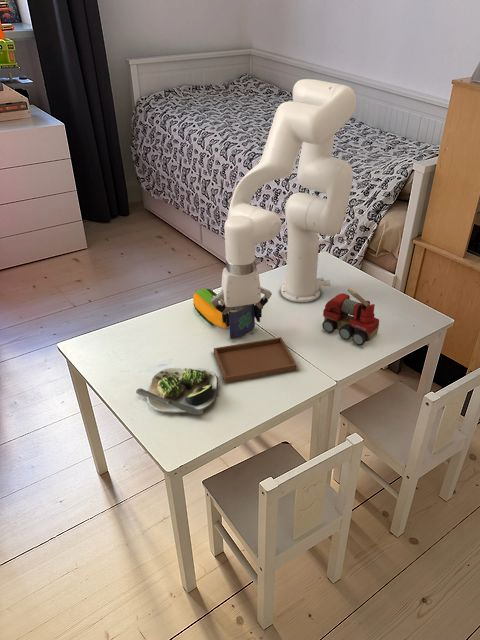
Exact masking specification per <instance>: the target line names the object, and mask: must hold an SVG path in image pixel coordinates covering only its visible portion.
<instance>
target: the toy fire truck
mask: <svg viewBox="0 0 480 640" xmlns="http://www.w3.org/2000/svg"><path fill="white" fill-rule="evenodd" d="M346 291H347V292H348V294H347V293H337V294H336V295H335V296H333V297H332V298H331V299H330V300H328V301H327V302H326V303H325V306H324V309H323V311H322V317H324V319H323V322H322V325H321V326H322V329H323V330H324V331H325V333H328V334H332V333H334V332H335V331H336V330H337V331H338V334H339V335H338V336H339V337H340V338H341V339H342V340H345V341H348V340H352V343H353V344H355V345H356V346H359V347H361V346H364V345H365V344H366V343H368V342H371V341H372V340H373V339H374V338H375V337H376V336H377V335H378V332H379V326H380V319H379V318H378V317H375V303H371V301H370V300H366V299H365V298H363V297H362V296H361V295H360V294H359V293H358V292H356V291H355V290H354V289H353V288H351V287H348V288H347V289H346ZM350 295H351V296H352V297H354V298H355V299H356V300H352V299H351V296H350Z"/></svg>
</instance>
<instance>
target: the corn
mask: <svg viewBox="0 0 480 640" xmlns="http://www.w3.org/2000/svg"><path fill="white" fill-rule="evenodd" d="M217 294H218V293H216V292H215V291H213V290H212V289H210V288H200V289H197V290H195V293H194V294H193V296H192V302H193V307H194V310H196V312H197V314H199V315H200V317H201V318H202V319H204V321H206V322H207V324H209V325H211V326H213V325H215V326H216V327H220V328H223V329H224V330H225V329H228V328H229V327H227V326H226V324H225V323H223V321H222V313H221V312H220V311H218V310H217V309H216V308H215V307H214V306H213V304H212V303H211V301H210V300H211V299H212V298H213V297H215V296H216V295H217ZM221 300H222V299H221ZM221 300H220V301H218V303H219V304H220V303H221V302H222V301H221ZM222 304H223V303H222ZM222 304H221V305H222Z"/></svg>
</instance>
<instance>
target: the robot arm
mask: <svg viewBox="0 0 480 640" xmlns="http://www.w3.org/2000/svg"><path fill="white" fill-rule="evenodd" d="M356 106H357V96H356V93H355V91H354V90H353V89H352V88H351V86H348V85H346V84H342V83H336V82H329V81H324V80H320V79H315V78H314V79H313V78H303V79H300V80H298V81H296V82H295V84H294V85H293V87H292V101H290V100H289V101H284V102H282V103H280V104H279V105H278V106H277V109H276V110H275V113H274V116H273V120H272V123H271V127H270V129H269V133H268V136H267V139H266V141H265V145H264V149H263V151H262V155H261V158H260V160H259V162H258V163H257V164H256V165H255V166H253V167H252V168H250V170H248V172H246V173H245V175H244V176H243V177H242V178H241V179H240V181H238V182H237V184H236V186H235V188H234V190H233V193H232V197H231V200H230V203H229V207H228V211H227V219H226V220H225V222H224V227H223V229H224V247H225V248H224V249H225V251H224V252H225V267H224V268H223V269H222V275H221V287H220V288H221V289H220V290H221V291H220V292H218V293H216V294H217V295H216V296H214V297H213V298H212V299H211V300H210V301H211V303H212V304H213V306H214V307H215V308H216V309H217V310H218V311H220V312H221V313H222V321H223V323H225V324H226V326H227V327H228V328H229V313H228V311H229V309H230V308H231V307H236V306H243V305H250V304H255V321H256V323H260V322H261V318H262V317H263V315H262V314H263V309H264V306H265V305H266V304H267V303H269V300H270V298H271V297H272V295H273V294H272V292H271V290H269V289H267V288H265V287H263V286H261V281H260V275H259V270H258V265H260V264H261V258H258V257H257V258H256V245H259V244H262V243H266V242H270V241H271V240H272V241H273V240H274V239H275V238H276V237H277V236H278V235H279V234H280V233H281V230H282V219H281V217H280V216H279V215H278V214H277V213H275V212H273V211H271V210H268V209H265V208H262V207H259V206H256V205H252V204H251V203H252V199H253V197H254V195H255V193H256V192H257V191H258V190H259V189H260V188H261V187H262V186H264V185H266V184H268V183H270V182H274V181H277V180H280V179H285V178H288V177H290V176H291V175H292V174H293V172H294V170H295V169H294V168H295V165H296V162H297V160H298V156H299V160H298V164H297V170H296V180H297V183H298V184H299V185H300V186H301V187H303V188H305V189H308V190H311V191H315V192H318V193H322V194H324V195H325V194H326V198H324V197H321V196H318V195H314V194H311V193H307V192H296V193H295V192H294V193H293V194H291V195H290V196H289V197H288V199H287V200H286V202H285V206H284V216H285V221H286V222H285V223H286V228H287V229H286V231H287V246H286V247H287V248H286V276H285V282H284V283H283V284H282V285H281V286H280V294H281V296H283V298H285V299H286V300H288V301H291V302H296V303H308V302H309V303H310V302H312V301H316V300H317V299H318V298H319V297H320V295H321V289H322V288H323V287H330V286H331V283H332V282H331V280H330V279H324V277H323V276H322V277H317V275H318V264H319V249H320V238H319V235H323V236H326V237H334V236H337V234H339V233H340V231H341V229H342V228H343V225H344V222H345V217H346V214H347V209H348V205H349V200H350V196H351V192H352V187H353V182H354V171H353V168H352V165H351V164H350V163H349V162H348V161H347V160H345V159H341V158H338V157H333V149H334V148H333V147H334V143H335V134H336V133H337V132H339V131H340V130H341V129H342V128H343V127H344V126H345V125H346V124H347V123H348V122H349V121H350V119H351V118H352V117H353V114H354V112H355V110H356ZM299 153H300V154H299ZM262 295H263V296H262ZM220 300H224V303H223V304H221V303H220V302H221V301H220ZM218 302H219V303H218Z"/></svg>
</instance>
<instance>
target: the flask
mask: <svg viewBox="0 0 480 640" xmlns="http://www.w3.org/2000/svg"><path fill="white" fill-rule="evenodd" d="M228 314H229V327H228V328H229V339H231V340H237V339H240V338H242V337H245V336H246V335H247V334H249V333H251V332H252V331H253V330H254V329H255V327H256V318H255V304H250V305H243V306H236V307H231V308H230V309H229V311H228Z"/></svg>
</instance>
